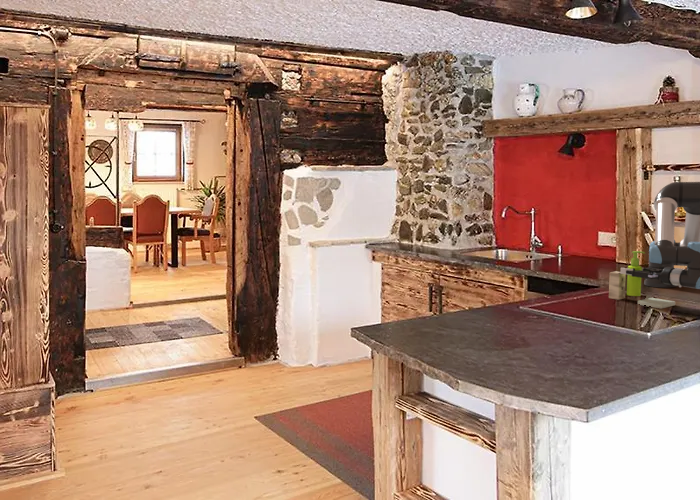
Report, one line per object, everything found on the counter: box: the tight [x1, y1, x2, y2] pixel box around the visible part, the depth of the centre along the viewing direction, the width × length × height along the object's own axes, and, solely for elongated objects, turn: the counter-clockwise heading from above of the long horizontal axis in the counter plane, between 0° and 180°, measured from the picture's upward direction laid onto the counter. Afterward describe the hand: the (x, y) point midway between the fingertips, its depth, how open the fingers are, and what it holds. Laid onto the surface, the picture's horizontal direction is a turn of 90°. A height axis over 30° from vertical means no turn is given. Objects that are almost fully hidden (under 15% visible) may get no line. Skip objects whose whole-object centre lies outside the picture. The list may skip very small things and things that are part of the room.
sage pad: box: [637, 297, 676, 309], centre depth 293 cm, size 11×11×2 cm
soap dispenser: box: [626, 250, 646, 297], centre depth 300 cm, size 6×7×20 cm
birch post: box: [608, 270, 627, 301], centre depth 308 cm, size 5×5×12 cm
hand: (625, 269), depth 304 cm, fingers closed on soap dispenser, 6 cm apart
